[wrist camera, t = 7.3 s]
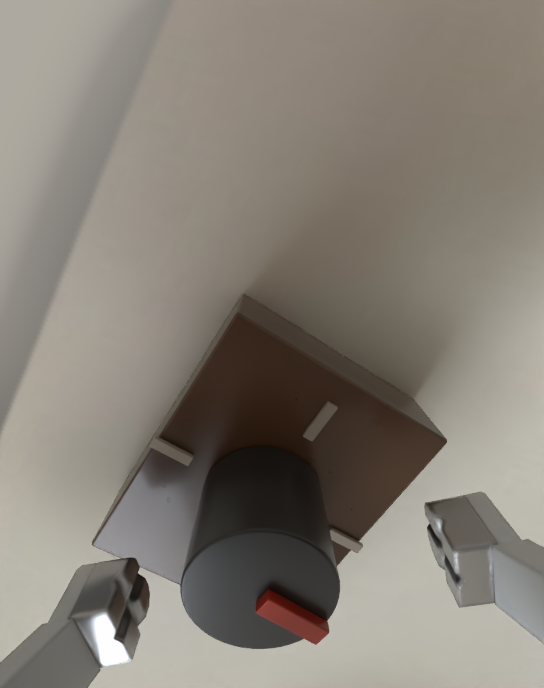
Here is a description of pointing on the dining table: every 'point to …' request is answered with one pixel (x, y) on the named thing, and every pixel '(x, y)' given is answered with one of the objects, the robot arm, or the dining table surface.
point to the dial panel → (271, 438)
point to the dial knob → (261, 553)
